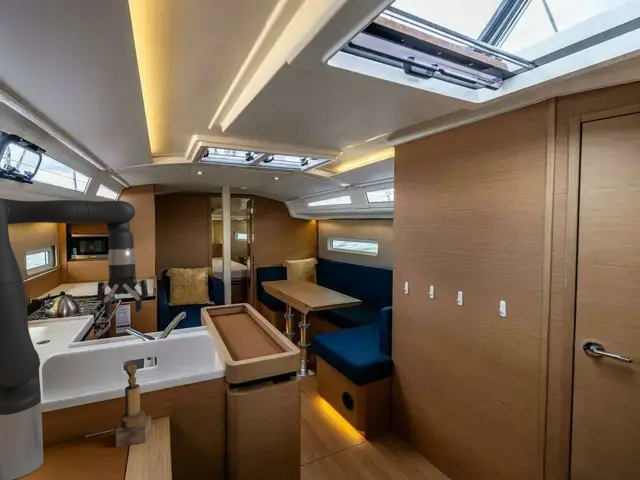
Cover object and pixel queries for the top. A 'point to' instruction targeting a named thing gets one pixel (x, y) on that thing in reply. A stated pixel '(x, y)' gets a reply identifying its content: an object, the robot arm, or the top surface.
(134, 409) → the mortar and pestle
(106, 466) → the top surface
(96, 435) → the top surface
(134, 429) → the walnut stand
